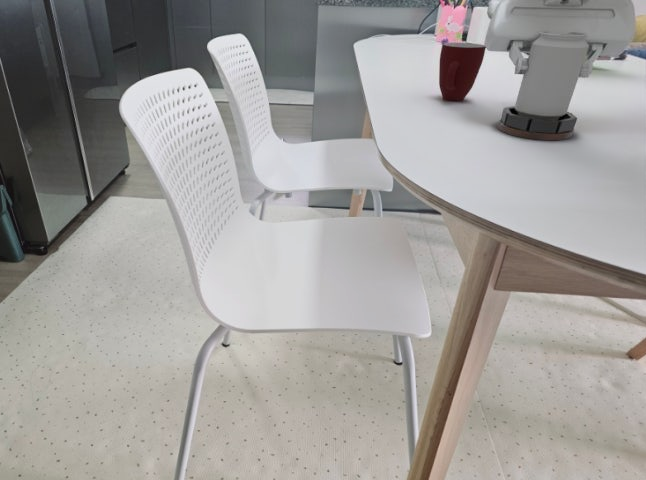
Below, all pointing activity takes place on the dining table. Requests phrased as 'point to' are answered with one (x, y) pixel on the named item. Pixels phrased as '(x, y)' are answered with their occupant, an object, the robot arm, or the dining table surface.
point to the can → (551, 75)
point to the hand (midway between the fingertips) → (552, 73)
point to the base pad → (536, 126)
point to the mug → (459, 69)
